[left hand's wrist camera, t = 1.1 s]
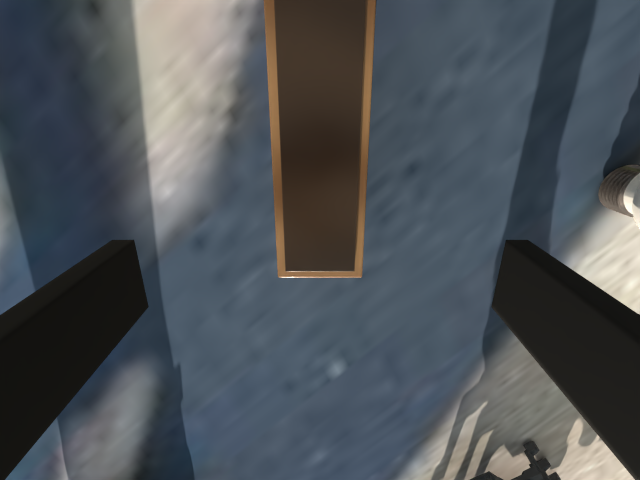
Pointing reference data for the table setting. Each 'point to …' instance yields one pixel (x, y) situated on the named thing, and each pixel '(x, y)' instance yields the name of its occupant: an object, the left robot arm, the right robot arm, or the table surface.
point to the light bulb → (622, 191)
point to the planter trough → (319, 131)
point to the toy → (533, 476)
